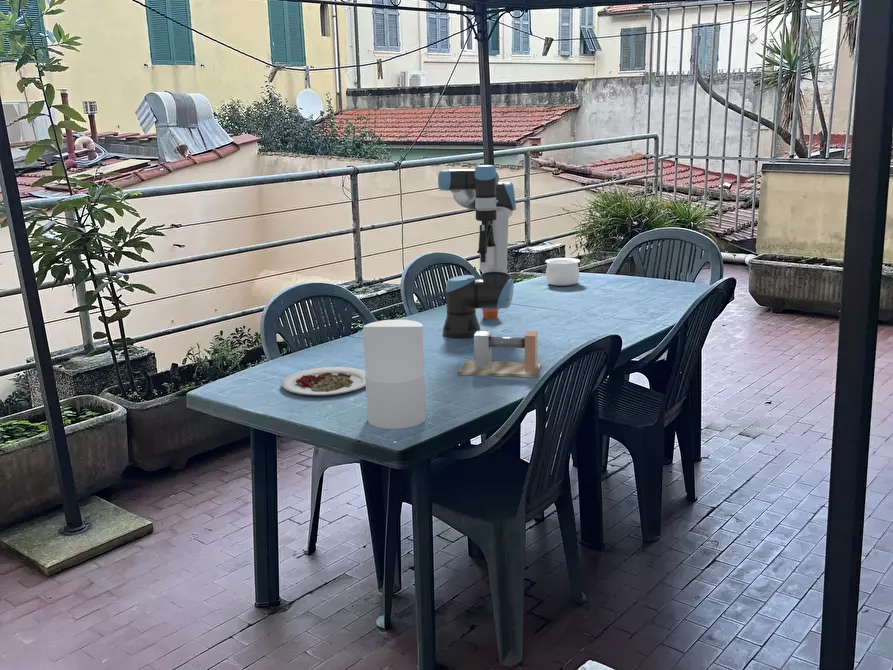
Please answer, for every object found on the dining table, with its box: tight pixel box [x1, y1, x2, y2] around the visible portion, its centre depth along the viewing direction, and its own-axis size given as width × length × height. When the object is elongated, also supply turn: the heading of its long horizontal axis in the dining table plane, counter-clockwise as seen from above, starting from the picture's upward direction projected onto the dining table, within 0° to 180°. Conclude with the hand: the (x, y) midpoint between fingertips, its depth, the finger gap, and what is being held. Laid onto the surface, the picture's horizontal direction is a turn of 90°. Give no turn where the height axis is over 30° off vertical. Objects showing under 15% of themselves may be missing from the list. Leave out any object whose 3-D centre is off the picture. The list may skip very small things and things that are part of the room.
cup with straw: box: [481, 309, 499, 320], centre depth 375 cm, size 9×9×18 cm
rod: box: [489, 336, 525, 349], centre depth 298 cm, size 18×4×4 cm, turn 78°
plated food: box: [281, 366, 366, 396], centre depth 291 cm, size 30×30×3 cm
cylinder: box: [362, 319, 427, 430], centre depth 253 cm, size 17×17×28 cm
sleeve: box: [473, 330, 493, 369], centre depth 301 cm, size 5×6×12 cm
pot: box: [545, 257, 581, 286], centre depth 440 cm, size 22×17×12 cm
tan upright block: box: [524, 330, 539, 371], centre depth 297 cm, size 4×7×12 cm, turn 168°
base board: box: [457, 359, 542, 378], centre depth 301 cm, size 27×14×1 cm, turn 78°
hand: (486, 267), depth 317 cm, fingers open, 13 cm apart
